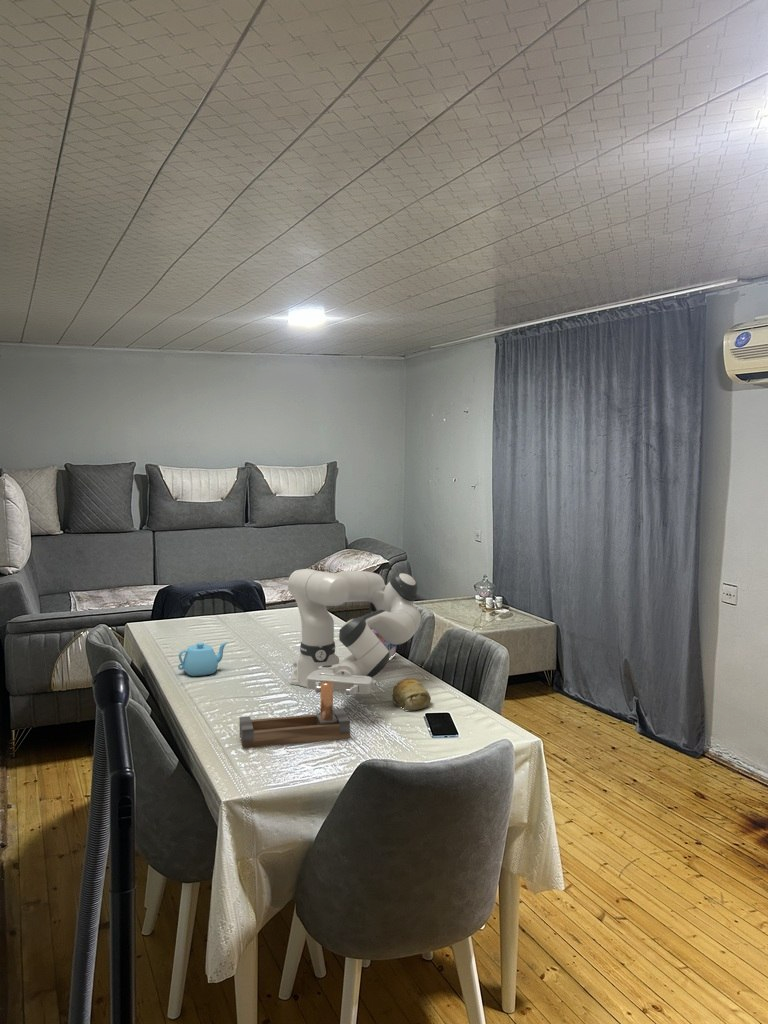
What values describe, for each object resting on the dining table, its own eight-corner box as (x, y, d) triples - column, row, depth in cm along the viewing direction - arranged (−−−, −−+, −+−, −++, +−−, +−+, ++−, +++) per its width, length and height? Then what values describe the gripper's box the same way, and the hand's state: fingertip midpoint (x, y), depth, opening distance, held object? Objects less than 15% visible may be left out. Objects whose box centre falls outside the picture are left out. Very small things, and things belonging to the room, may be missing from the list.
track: (239, 734, 219) (239, 717, 219) (342, 725, 227) (342, 709, 227) (242, 747, 210) (242, 730, 209) (349, 738, 218) (350, 721, 217)
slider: (316, 724, 223) (316, 680, 222) (333, 722, 224) (333, 679, 223) (319, 731, 217) (320, 687, 216) (337, 730, 218) (337, 685, 217)
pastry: (399, 695, 255) (399, 671, 254) (435, 700, 251) (435, 676, 250) (385, 709, 242) (385, 684, 241) (423, 714, 238) (423, 689, 237)
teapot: (232, 644, 275) (180, 649, 268) (232, 674, 276) (181, 679, 269) (224, 636, 286) (174, 641, 279) (224, 664, 287) (175, 669, 280)
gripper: (377, 690, 238) (367, 704, 225) (314, 685, 243) (300, 698, 229) (378, 670, 238) (367, 683, 224) (314, 665, 242) (300, 678, 229)
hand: (332, 691), depth 227 cm, fingers open, 8 cm apart
